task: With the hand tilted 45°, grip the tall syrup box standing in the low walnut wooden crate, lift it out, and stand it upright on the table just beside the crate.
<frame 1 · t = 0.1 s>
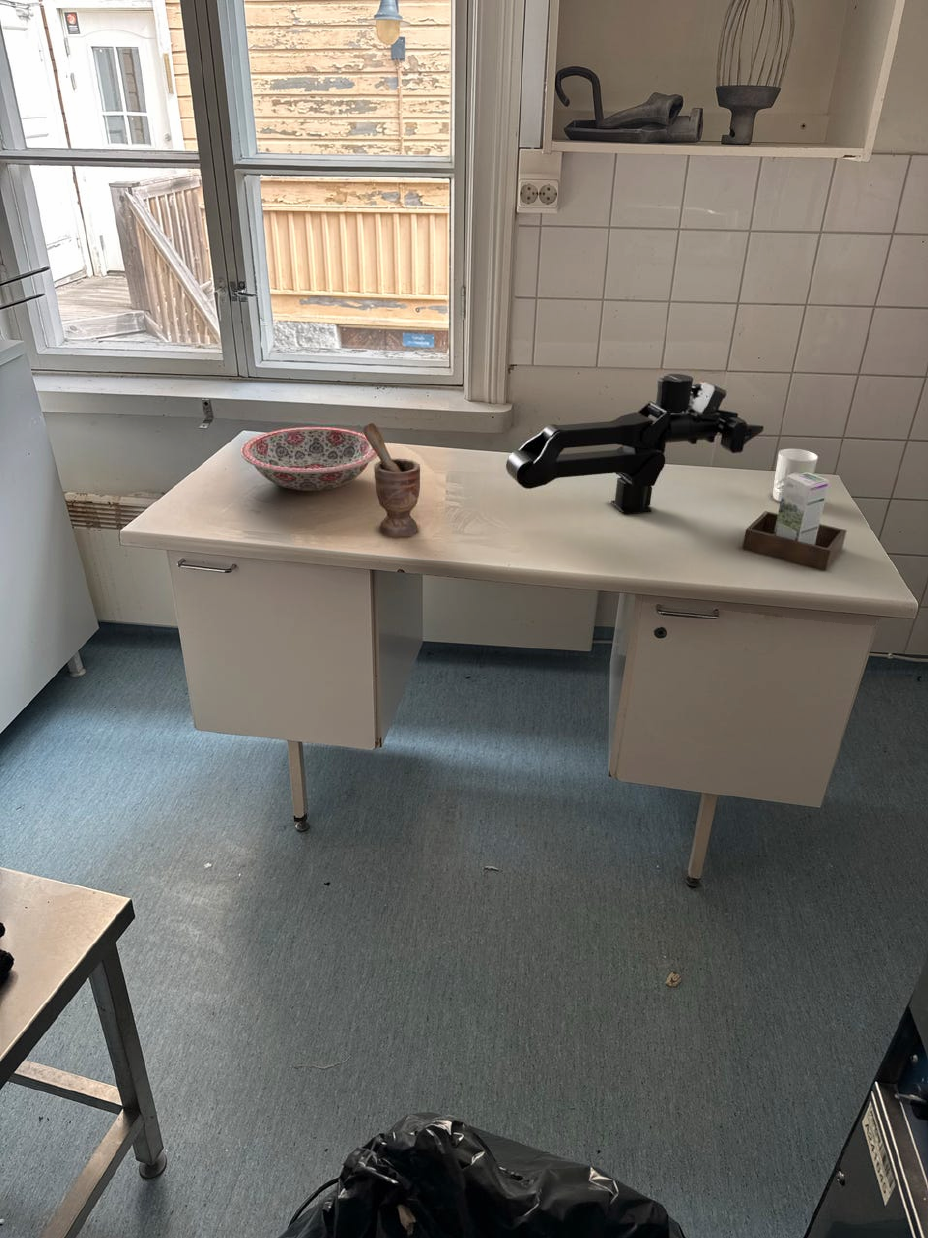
hand: (749, 421, 187), 17 cm above the table, tool horizontal, fingers open, 9 cm apart
crate: (792, 549, 172), on the table
mortar and pestle: (390, 529, 175), on the table
white cup: (788, 499, 195), on the table
syrup box: (791, 550, 172), resting in crate
ceramic bowl: (313, 484, 195), on the table
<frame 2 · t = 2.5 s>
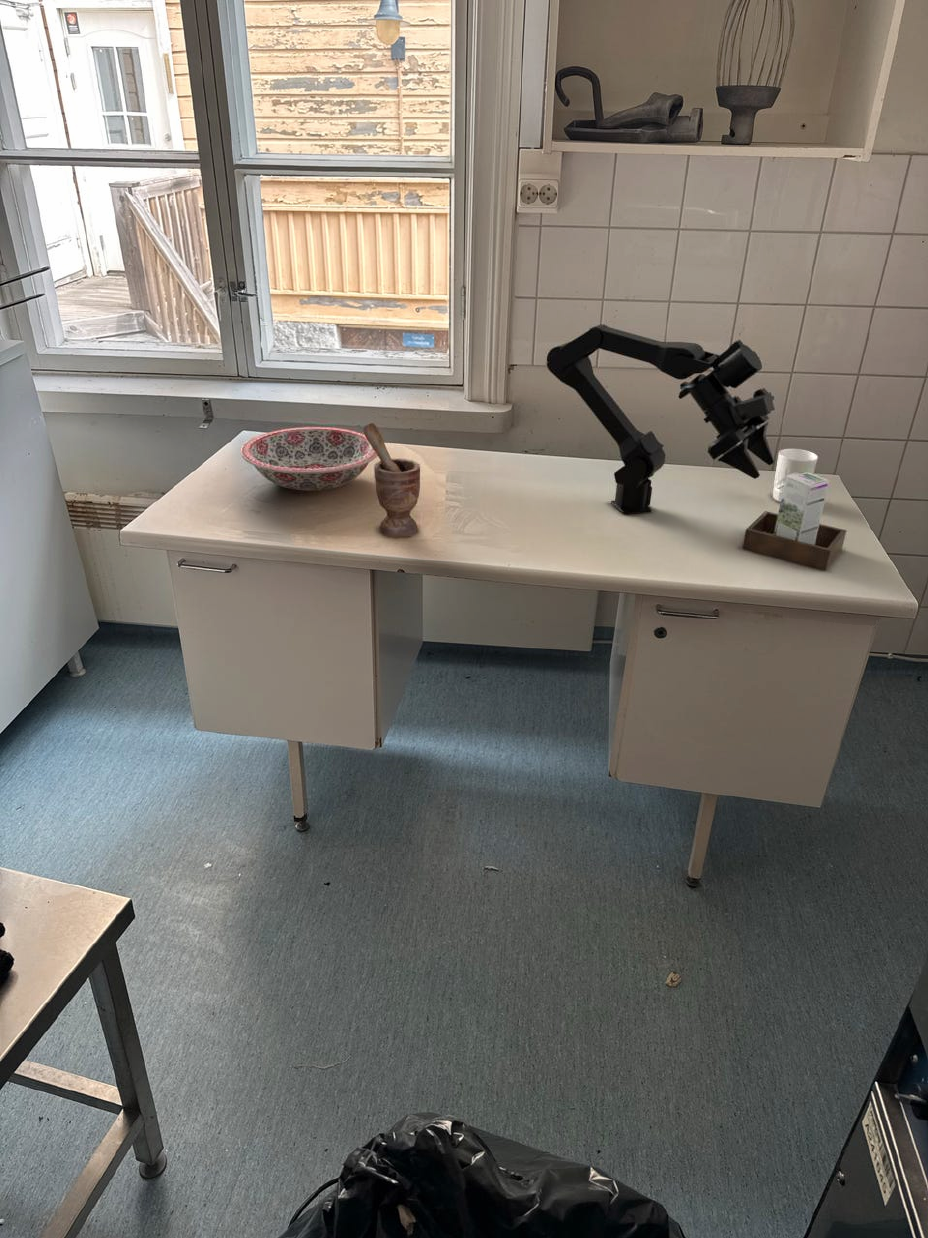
hand: (764, 470, 170), 14 cm above the table, tool tilted 45°, fingers open, 9 cm apart
nothing on the table moved.
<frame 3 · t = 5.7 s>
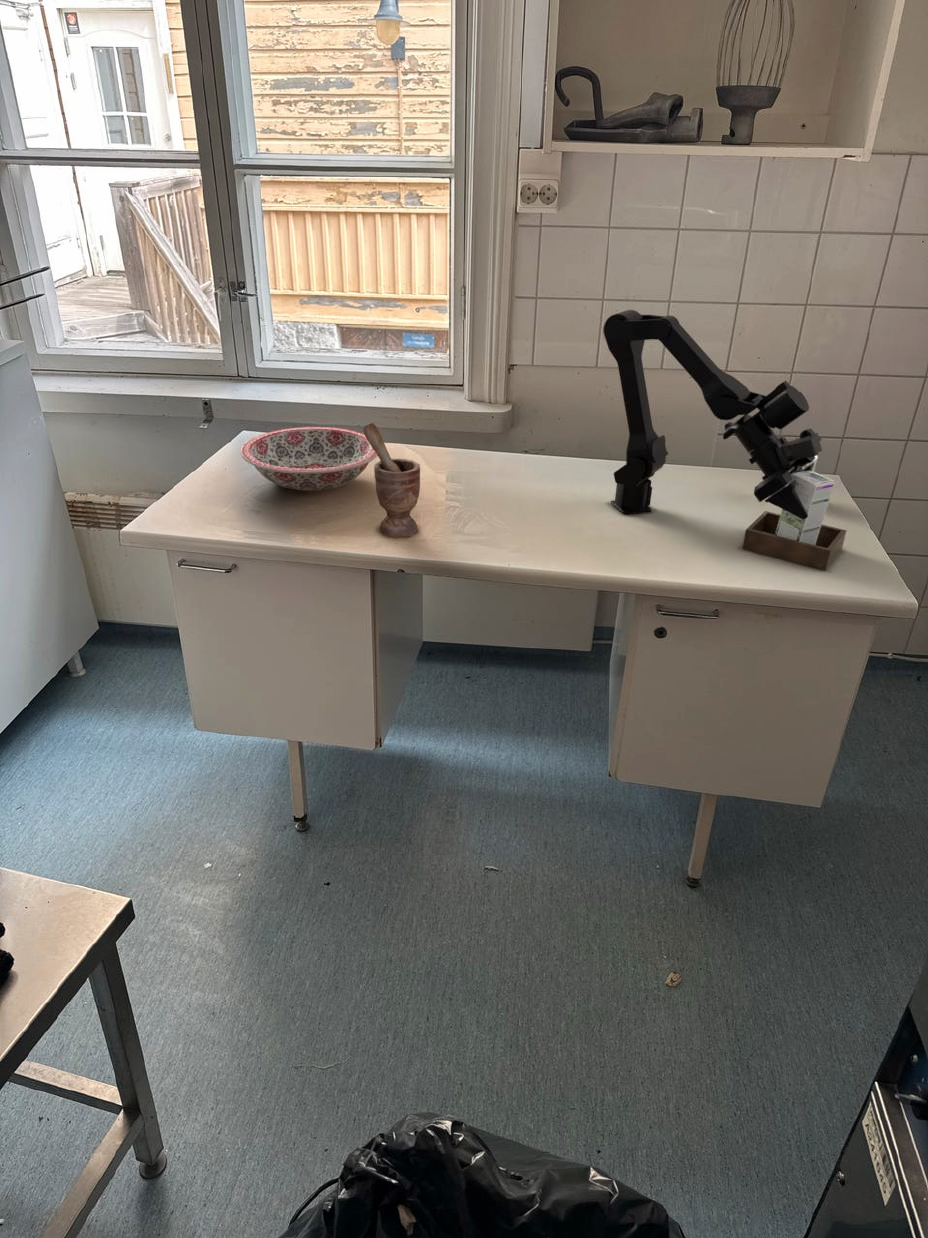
hand: (812, 511, 167), 8 cm above the table, tool tilted 45°, fingers closed on syrup box, 8 cm apart
syrup box: (792, 549, 172), resting in crate, touching gripper
everything else where it was.
when the fingers open (9 cm above the table, at t = 11.8 s): syrup box stays where it is, on the table.
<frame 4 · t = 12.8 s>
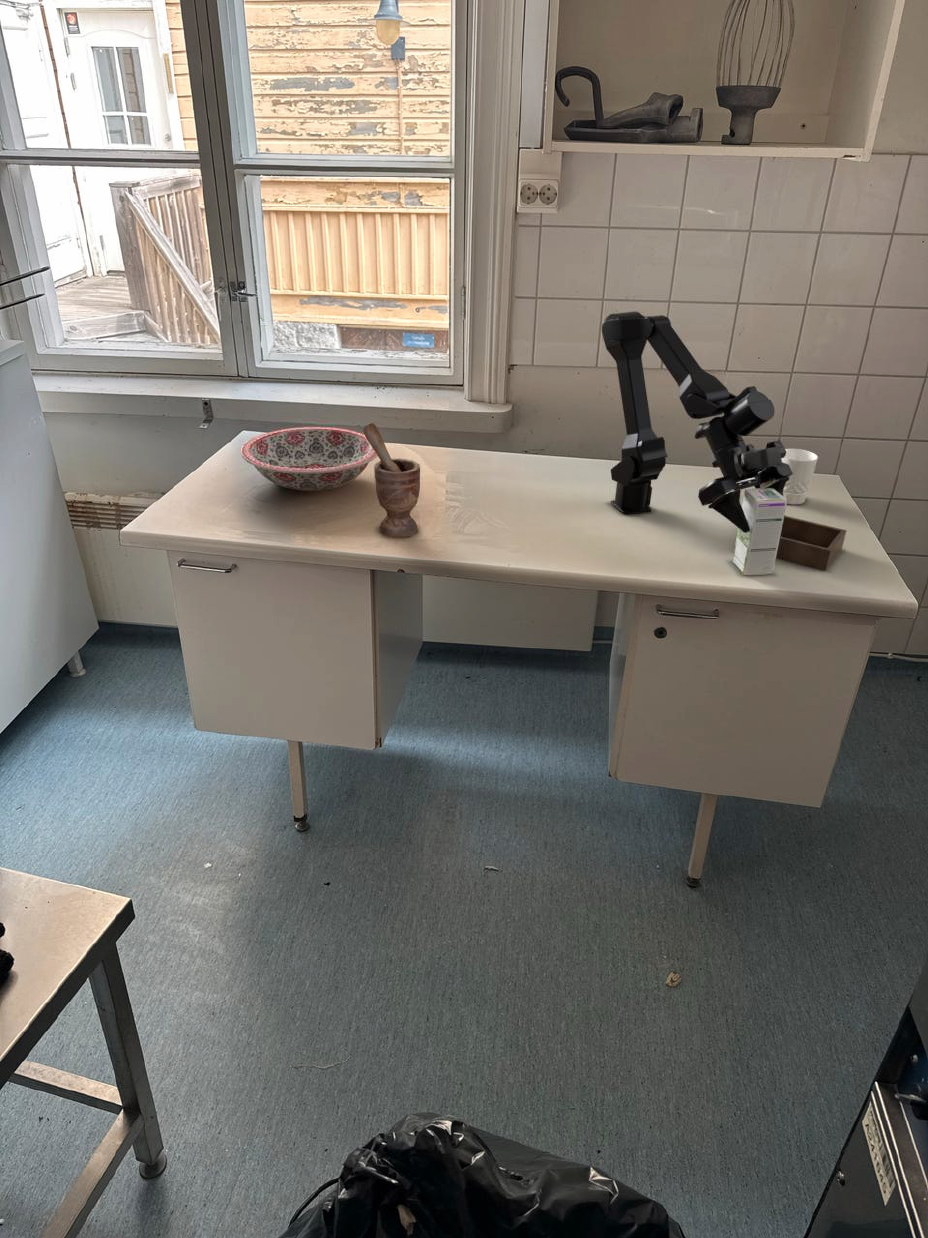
hand: (765, 526, 160), 8 cm above the table, tool tilted 45°, fingers open, 9 cm apart
syrup box: (751, 569, 164), on the table
everything else where it was.
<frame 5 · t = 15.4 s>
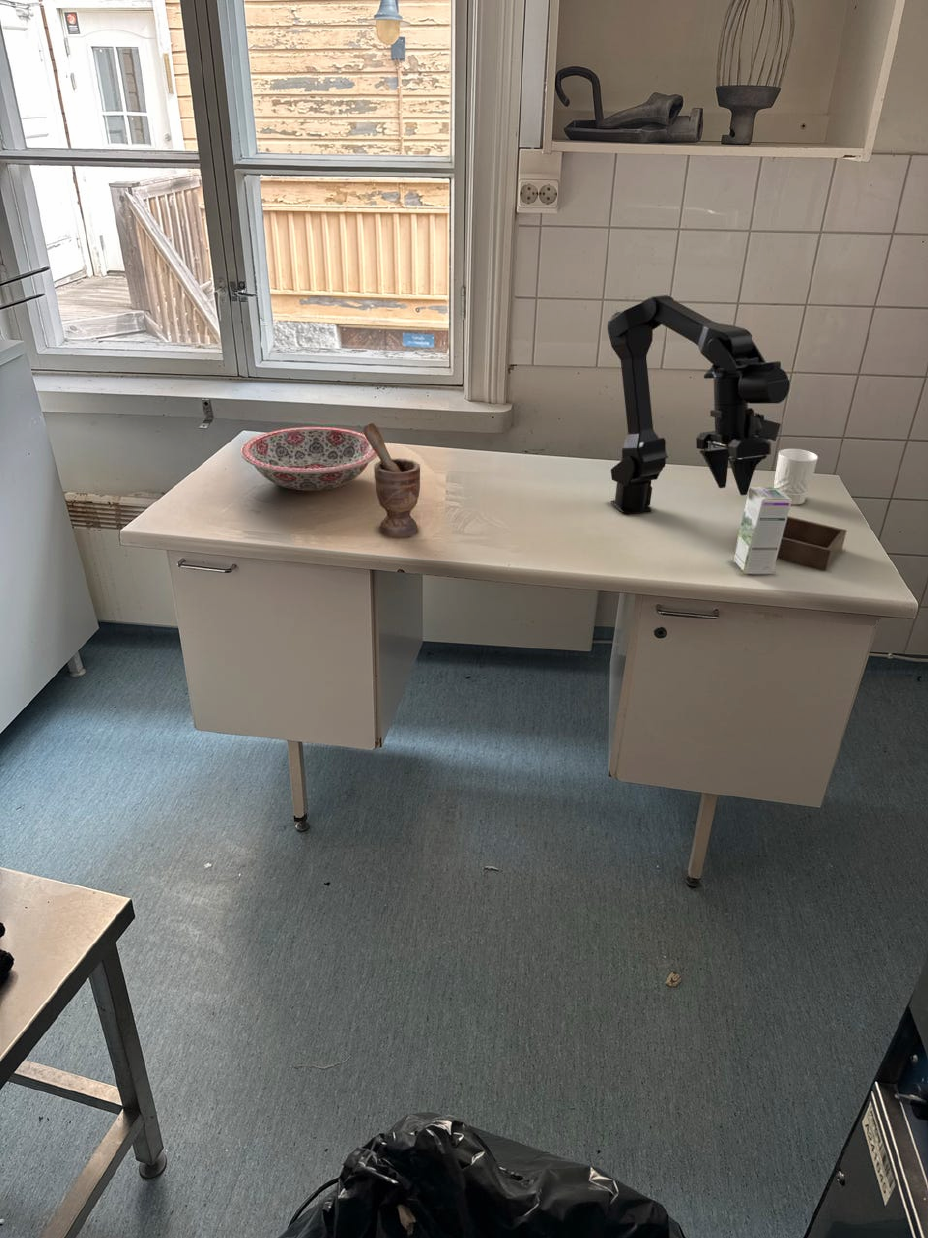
hand: (732, 491, 164), 12 cm above the table, tool pointing down, fingers open, 9 cm apart
nothing on the table moved.
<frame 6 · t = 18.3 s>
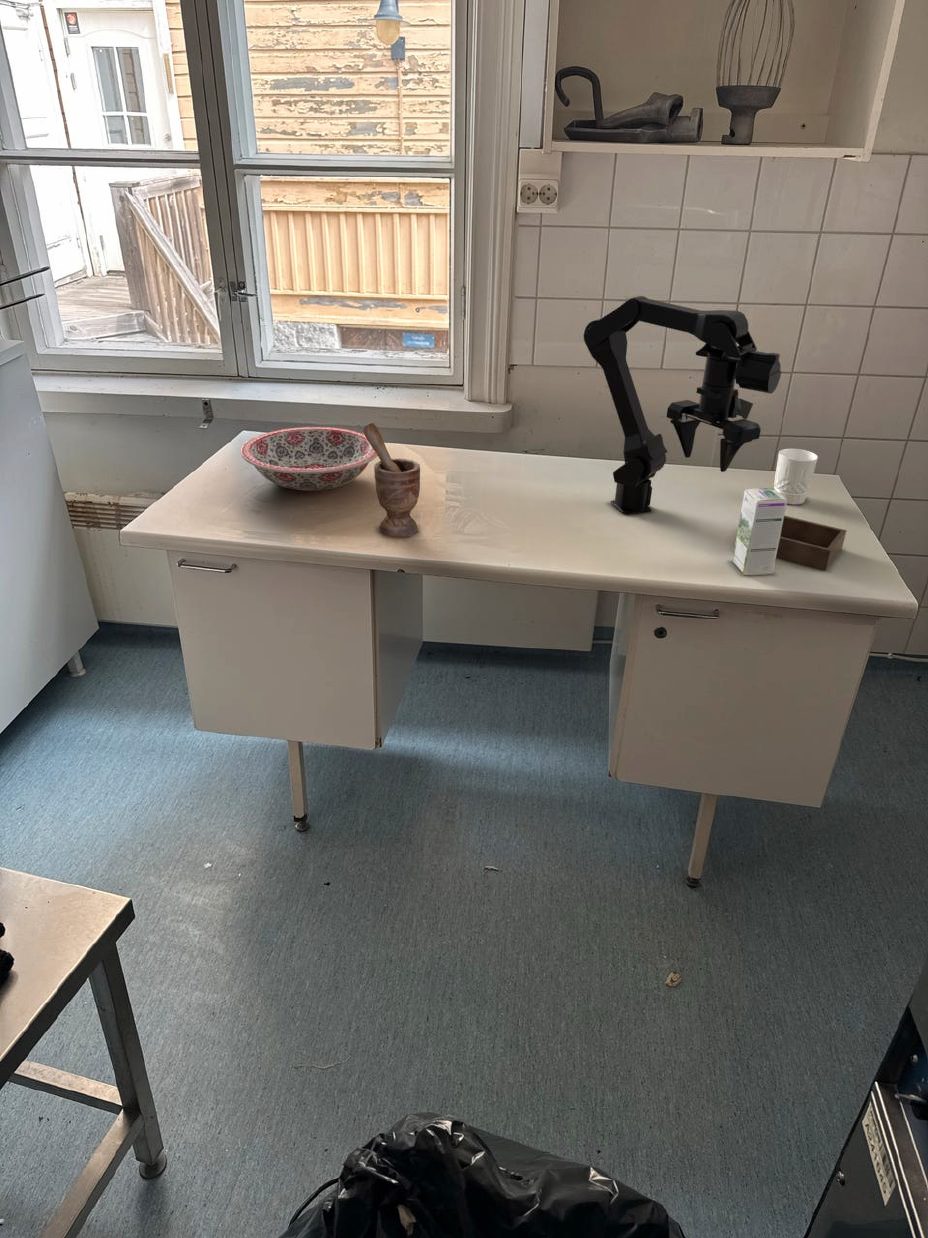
hand: (705, 464, 174), 13 cm above the table, tool pointing down, fingers open, 9 cm apart
nothing on the table moved.
at the end: syrup box inside the target area (1.3 cm from its centre), on the table; syrup box tilted 0°; the gripper is holding nothing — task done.
